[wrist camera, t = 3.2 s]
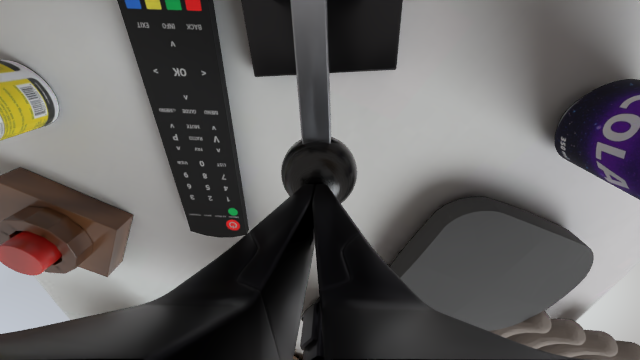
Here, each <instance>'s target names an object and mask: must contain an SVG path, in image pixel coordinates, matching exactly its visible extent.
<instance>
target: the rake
mask: <svg viewBox="0 0 640 360" xmlns="http://www.w3.org/2000/svg"><path fill="white" fill-rule="evenodd" d="M489 332H492V333H494V334H497V335H499V336H502V337H505V338H507V339H510V340H512V341H515V342H518V343H520V344H523V345H526V346H529V347H532V348H534V349H538V350H541V351H545V352H549V353H552V354H556V355H561V356H566V357H571V358H579V359H592V360H640V346H639V345H637V344H635V343H632V342H624V341H615V340H614V339H613V338H612V336H610V335H609V334H607V333H605V332H602V331H592V330H583V328H582V327H581V326H580V325H579V324H578V323H576V322H575V321H572V320H567V319H550V317H549V316H548V314H547V313H546V312H545V311H542V312H541V313H539V314H537V315H535V316H533V317H531V318H529V319H527V320H525V321H523V322H521V323H518V324H516V325H513V326H510V327H507V328H503V329H498V330H493V331H489Z"/></svg>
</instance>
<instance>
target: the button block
mask: <svg viewBox="0 0 640 360" xmlns="http://www.w3.org/2000/svg"><path fill="white" fill-rule="evenodd" d="M132 219H133V215H132V214H129V213H127V212H125V211H122V210H120V209H118V208H115V207H113V206H111V205H108V204H106V203H103V202H101V201H99V200H96V199H94V198H92V197H89V196H87V195H85V194H82V193H80V192H77V191H75V190H73V189H70V188H68V187H66V186H63V185H61V184H59V183H56V182H54V181H52V180H49V179H47V178H44V177H42V176H40V175H37V174H35V173H33V172H30V171H28V170H26V169H23V168H21V167H19V168H17V169H15V170H12V171H10V172H8V173H5V174H3V175H0V245H1V244H2V243H4V242H6V241H7V240H9V239H10V238H12V237H14V236H15V235H17V234H18V233H20V232H23V231H29V232H31V233H34V234H37V235H39V236H42V237H44V238H46V239H47V240H49V241H50V242H51V243H53V244H54V245H55V246H56V247H57V248H58V250H59V251H60V252H61V254H62V256H61V258H60V259H58V260H57V261H56V262H55V263H53V264H52V265H51V266H50V267H48V268H47V269H46V270H45V272H50V273H67V272H69V271H71V270H73V269H75V268H77V267H81V268H84V269H86V270H89V271H92V272H95V273H98V274H100V275H103V276H106V277H108V276H109V275H110V274H111V273H112V271H113V270H114V269H115V268H116V267H117V266H118V265H119V264H120V263H121V262H122V261H123V257H124V252H125V248H126V244H127V240H128V236H129V231H130V227H131V223H132Z"/></svg>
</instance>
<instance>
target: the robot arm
mask: <svg viewBox="0 0 640 360" xmlns="http://www.w3.org/2000/svg"><path fill="white" fill-rule="evenodd" d="M314 245H315V248H316V260H317V272H318V284H319V296H320V298H319V299H318V300H317V301H316V302H315V303H314V304H313V305H311V306H310V307H309V308H308V309H307V310H306V311H305V312H304V314H303V315H302V318H301V314H302V309H303V304H304V298H305V293H306V288H307V282H308V277H309V272H310V267H311V261H312V256H313V251H314ZM300 319H301V320H302V321H303V328H302V337H301V345H300V347H301V349H302V350H304V354H303V360H592V359H579V358H571V357H566V356H561V355H556V354H552V353H549V352H545V351H541V350H538V349H534V348H532V347H529V346H526V345H523V344H520V343H518V342H515V341H512V340H510V339H507V338H505V337H502V336H499V335H497V334H494V333H492V332H489V331H487V330H484V329H481V328H479V327H476V326H474V325H471V324H469V323H466V322H463V321H461V320H458V319H456V318H453V317H451V316H448V315H445V314H443V313H440V312H438V311H436V310H434V309H433V308H431V307H430V306H428V305H427V304H426V303H424V302H423V301H422V300H421V299H420V298H419V297H418V296H417V295H416V294H415V293H414V292H413V291H412V290H411V289H410V288H409V287H408V286H407V285H406V284H405V283H404V282H403V281H402V280H401V279H400V278H399V277H398V276H397V274H396V273H395V272H394V271H393V270H392V269H391V268H390V267H389V266H388V265H387V264H386V263H385V262H384V261H383V260H382V258H381V257H380V256H379V255H378V254H377V253H376V252H375V251H374V249H373V248H372V247H371V245H370V244H369V243H368V242H367V240H366V239H365V237H364V236H363V235H362V233H361V232H360V230H359V229H358V228H357V226H356V225H355V223H354V222H353V221H352V219H351V218H350V216H349V215H348V214H347V212H346V211H345V209H344V208H343V206H342V205H341V204H340V202H339V201H338V199H337V198H336V197H335V195H334V194H333V192H332V191H331V190H330V188H329V187H328V185H327V184H316V186H315V185H314V184H304V185H303V186H302V187H300V188H299V189H298V190H297V191H296V192H295V193H294V194H292V195H291V196H290V197H289V198H288V199H287V200H286V201H284V202H283V203H282V204H281V205H280V206H279V207H277V208H276V209H275V210H274V211H273V212H272V213H271V214H269V215H268V216H267V217H266V218H265V219H264V220H263V221H261V222H260V223H259V224H258V225H257V226H256V227H254V228H253V229H252V230H251V231H250V233H247V234H246V235H245V236H244V237H243V238H242V239H241V240H239V241H238V242H237V243H236V244H235V245H233V246H232V247H231V248H230V249H228V250H227V251H226V252H224V253H223V254H222V255H220V256H219V257H218V258H216V259H215V260H214V261H212V262H211V263H210V264H208V265H207V266H206V267H204V268H203V269H201V270H200V271H199V272H197V273H196V274H194V275H193V276H192V277H190V278H189V279H188V280H186V281H185V282H183V283H182V284H181V285H179V286H178V287H176V288H175V289H174V290H172V291H171V292H169V293H168V294H166V295H164V296H162V297H160V298H158V299H156V300H154V301H151V302H148V303H146V304H142V305H139V306H134V307H130V308H125V309H120V310H116V311H111V312H107V313H102V314H97V315H93V316H88V317H83V318H79V319H74V320H70V321H65V322H61V323H56V324H51V325H47V326H43V327H38V328H33V329H27V330H22V331H17V332H11V333H5V334H0V360H298V359H293V356H294V351H295V346H296V340H297V335H298V330H299V325H300Z"/></svg>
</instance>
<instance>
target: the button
mask: <svg viewBox="0 0 640 360" xmlns="http://www.w3.org/2000/svg"><path fill="white" fill-rule="evenodd" d="M61 256H62V254H61V252H60V251H59V250H58V248H57V247H56V246H55V245H54V244H53V243H51V242H50V241H49V240H47V239H46V238H44V237H42V236H39V235H37V234H34V233H31V232H29V231H23V232H20V233H18V234H17V235H15V236H14V237H12V238H10V239H9V240H7V241H6V242H4V243H2V244H1V245H0V261H1V262H2V263H3V264H4V265H6V266H8V267H9V268H11V269H13V270H15V271H17V272H20V273H23V274H27V275H39V274H41V273H42V272H44V271H45V270H46V269H47V268H48V267H50V266H51V265H52V264H53V263H55V262H56V261H57V260H58V259H60V258H61Z"/></svg>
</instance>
